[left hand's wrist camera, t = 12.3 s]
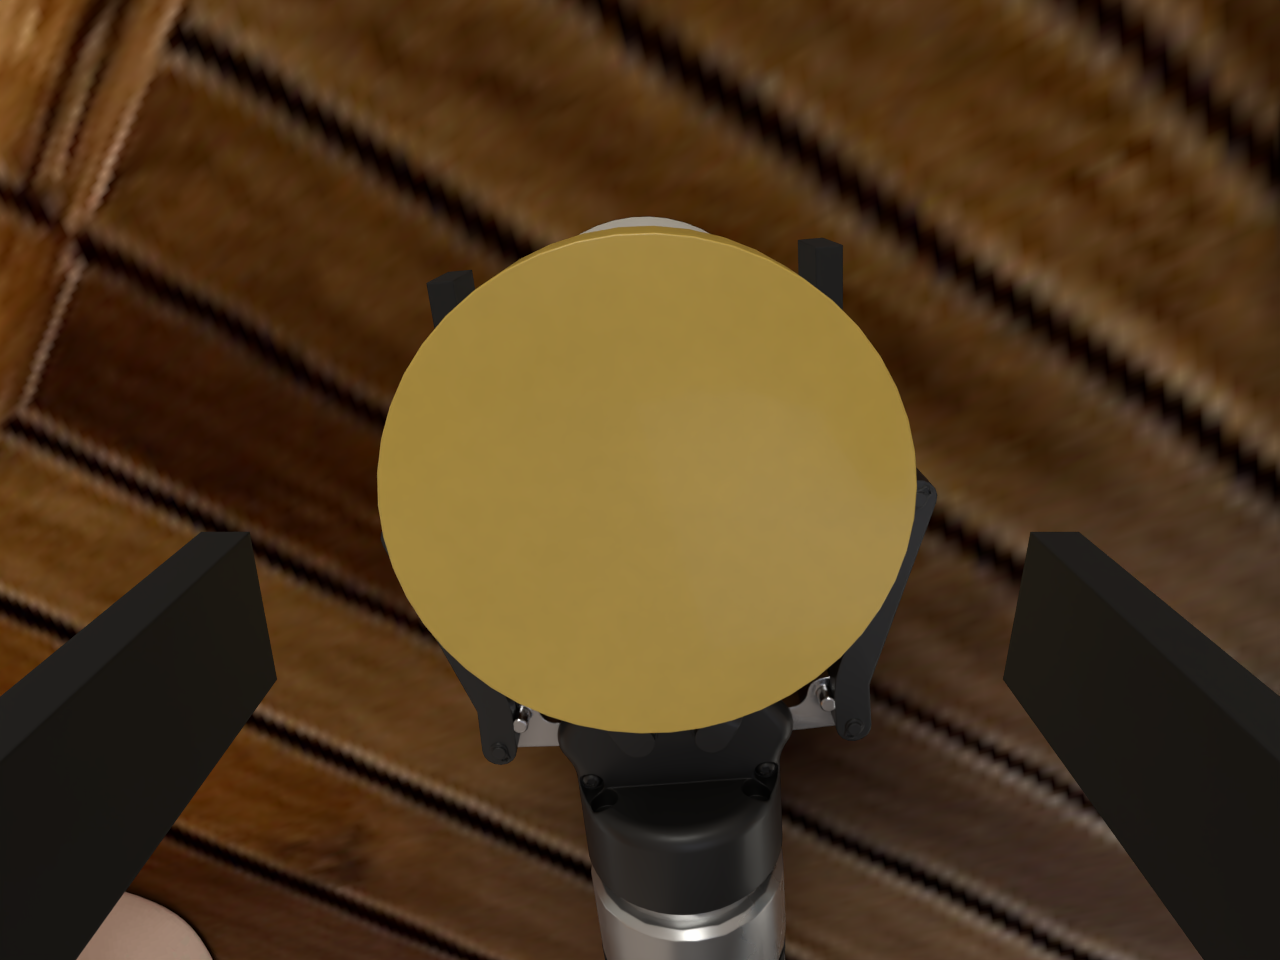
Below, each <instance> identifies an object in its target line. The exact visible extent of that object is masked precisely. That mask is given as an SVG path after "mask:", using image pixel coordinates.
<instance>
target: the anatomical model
mask: <svg viewBox="0 0 1280 960" xmlns="http://www.w3.org/2000/svg"><path fill="white" fill-rule="evenodd" d="M76 960H213V959H212V957H211V955H210V953H209V951H208V950H207V948H206V947H205V945H204V943H203V942H202V940H201V939H200V937H199V936H198V935H197V934H196V932H195V931H194V930H193V929H192V927H191V926H190V925H189V924H188V923H186V922H185V921H184V920H183V919H182V918H181V917H179V916H178V915H177V914H175V913H173V912H172V911H170V910H169V909H167V908H165V907H163V906H161V905H159V904H157V903H155V902H153V901H150V900H148V899H145V898H142V897H140V896H137V895H134V894H131V893H128V892H124V894H123V895H122V897H121V898H120V899H119V901H118V902H117V904H116V905H115V906H114V908H113V909H112V911H111V912H110V913H109V915H108V916H107V917H106V919H105V920H104V922H103V923H102V924H101V926H100V927H99V929H98V930H97V931H96V933H95V934H94V936H93V937H92V938H91V940H90V941H89V943H88V944H87V945H86V947H85V948H84V950H83V951H82V952H81V954H80V955H79V957H78V958H77V959H76Z"/></svg>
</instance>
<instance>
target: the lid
mask: <svg viewBox="0 0 1280 960" xmlns="http://www.w3.org/2000/svg"><path fill="white" fill-rule="evenodd" d="M377 481H378V507H379V513H380V519H381V526H382V532H383V537H384V541H385V544H386V547H387V550H388V553H389V557H390V560H391V563H392V566H393V569H394V571H395V573H396V575H397V578H398V580H399V582H400V584H401V586H402V588H403V590H404V593H405V595H406V597H407V598H408V600H409V602H410V603H411V605H412V606H413V608H414V609H415V611H416V613H417V614H418V616H419V617H420V619H421V620H422V622H423V624H424V625H425V626H426V627H427V628H428V630H429V631H430V632H431V633H432V634H433V636H434V637H435V638H436V639H437V641H438V642H439V643H440V644H441V645H442V647H443V648H444V649H445V650H446V651H447V652H449V653H450V654H451V655H452V656H453V657H454V658H455V659H456V660H457V661H458V662H459V663H460V664H461V665H462V666H463V667H464V668H466V669H467V670H468V671H469V672H471V673H472V674H473V675H475V676H476V677H477V678H479V679H480V680H482V681H483V682H484V683H486V684H487V685H488V686H490V687H491V688H493V689H494V690H496V691H498V692H500V693H501V694H503V695H505V696H506V697H508V698H510V699H512V700H513V701H515V702H517V703H519V704H521V705H523V706H526V707H528V708H530V709H533V710H535V711H537V712H540V713H542V714H544V715H546V716H549V717H553V718H556V719H559V720H562V721H566V722H569V723H572V724H576V725H580V726H585V727H590V728H595V729H601V730H606V731H615V732H628V733H670V732H678V731H685V730H692V729H700V728H705V727H709V726H713V725H717V724H721V723H725V722H728V721H732V720H735V719H738V718H741V717H743V716H746V715H749V714H751V713H754V712H757V711H759V710H762V709H764V708H766V707H768V706H770V705H772V704H774V703H776V702H778V701H780V700H782V699H784V698H786V697H788V696H790V695H791V694H793V693H794V692H796V691H797V690H799V689H800V688H802V687H803V686H805V685H806V684H808V683H809V682H811V681H812V680H814V679H815V678H817V677H818V676H819V675H820V674H822V673H823V672H824V671H825V670H826V669H827V668H829V667H830V666H831V665H832V664H833V663H835V662H836V661H837V660H838V659H839V658H840V657H841V656H842V655H843V654H844V653H845V652H846V651H847V650H848V649H849V648H850V647H851V646H852V644H853V643H854V642H855V641H856V640H857V639H858V638H859V637H860V636H861V635H862V634H863V632H864V631H865V629H866V628H867V627H868V625H869V624H870V622H871V621H872V620H873V618H874V617H875V615H876V614H877V613H878V611H879V610H880V608H881V607H882V605H883V603H884V601H885V599H886V597H887V595H888V594H889V592H890V590H891V588H892V586H893V584H894V582H895V580H896V578H897V575H898V573H899V570H900V567H901V565H902V562H903V559H904V557H905V554H906V551H907V548H908V543H909V539H910V535H911V530H912V526H913V522H914V515H915V503H916V492H917V477H916V459H915V450H914V445H913V440H912V435H911V430H910V425H909V420H908V417H907V414H906V411H905V409H904V406H903V403H902V400H901V397H900V395H899V392H898V389H897V387H896V385H895V383H894V381H893V379H892V377H891V375H890V373H889V372H888V370H887V368H886V366H885V364H884V362H883V360H882V358H881V357H880V355H879V354H878V352H877V351H876V350H875V348H874V347H873V346H872V344H871V343H870V341H869V340H868V339H867V337H866V336H865V335H864V333H863V332H862V331H861V329H860V328H859V327H858V326H857V325H856V324H855V323H854V322H853V321H852V320H851V319H850V318H849V316H848V315H847V314H846V313H845V312H844V311H843V310H842V309H841V308H840V307H839V306H838V305H837V304H836V303H835V302H834V301H833V300H831V299H830V298H829V297H827V296H826V295H825V294H823V293H822V292H821V291H820V290H818V289H817V288H816V287H814V286H813V285H812V284H810V283H809V282H808V281H806V280H805V279H804V278H802V277H801V276H799V275H798V274H796V273H795V272H793V271H792V270H790V269H789V268H787V267H786V266H784V265H782V264H780V263H779V262H777V261H775V260H773V259H771V258H770V257H768V256H766V255H764V254H762V253H761V252H759V251H757V250H755V249H752V248H750V247H747V246H745V245H742V244H740V243H737V242H734V241H732V240H729V239H727V238H724V237H721V236H716V235H712V234H708V233H704V232H699V231H695V230H691V229H683V228H673V227H662V226H635V227H617V228H611V229H606V230H600V231H595V232H589V233H584V234H581V235H578V236H574V237H571V238H568V239H565V240H562V241H559V242H556V243H553V244H550V245H548V246H546V247H544V248H542V249H540V250H538V251H536V252H534V253H532V254H530V255H528V256H526V257H524V258H522V259H520V260H518V261H517V262H515V263H514V264H512V265H511V266H509V267H508V268H506V269H505V270H503V271H502V272H500V273H499V274H497V275H496V276H494V277H493V278H491V279H490V280H488V281H487V282H486V283H484V284H483V285H481V286H480V287H478V288H477V289H475V290H474V291H473V292H472V293H471V294H469V295H468V296H467V297H466V298H465V299H464V300H463V301H462V302H461V303H459V304H458V305H457V306H456V307H455V308H454V309H453V310H452V311H451V312H449V313H448V314H447V315H446V316H445V317H444V319H443V320H442V321H441V322H440V323H439V325H438V326H437V327H436V328H435V329H434V331H433V332H432V333H431V334H430V335H429V337H428V338H427V339H426V340H425V341H424V343H423V344H422V345H421V347H420V349H419V350H418V352H417V353H416V355H415V357H414V358H413V360H412V362H411V363H410V365H409V366H408V368H407V370H406V371H405V373H404V375H403V377H402V379H401V382H400V384H399V386H398V389H397V391H396V393H395V396H394V398H393V400H392V403H391V405H390V408H389V412H388V416H387V419H386V423H385V427H384V430H383V434H382V438H381V445H380V453H379V462H378V470H377Z"/></svg>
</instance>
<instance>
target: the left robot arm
mask: <svg viewBox="0 0 1280 960" xmlns="http://www.w3.org/2000/svg"><path fill="white" fill-rule="evenodd" d="M276 680H277V677H276V672H275V666H274V661H273V656H272V650H271V645H270V640H269V634H268V629H267V623H266V618H265V613H264V607H263V602H262V597H261V591H260V586H259V581H258V575H257V570H256V564H255V559H254V554H253V548H252V543H251V538H250V532H201V533H199V534H198V535H197V536H196V537H194V538H193V539H192V540H191V541H190V542H188V543H187V544H186V545H185V546H184V547H182V548H181V549H180V550H179V551H177V552H176V553H175V554H174V555H173V556H171V557H170V558H169V559H168V560H166V561H165V562H164V563H163V564H162V565H160V566H159V567H158V568H157V569H155V570H154V571H153V572H152V573H151V574H149V575H148V576H147V577H146V578H144V579H143V580H142V581H141V582H140V583H138V584H137V585H136V586H135V587H134V588H132V589H131V590H130V591H129V592H127V593H126V594H125V595H124V596H123V597H121V598H120V599H119V600H118V601H116V602H115V603H114V604H113V605H112V606H110V607H109V608H108V609H107V610H105V611H104V612H103V613H102V614H101V615H99V616H98V617H97V618H96V619H94V620H93V621H92V622H91V623H90V624H88V625H87V626H86V627H85V628H84V629H82V630H81V631H80V632H79V633H77V634H76V635H75V636H74V637H73V638H71V639H70V640H69V641H68V642H66V643H65V644H64V645H63V646H62V647H60V648H59V649H58V650H57V651H55V652H54V653H53V654H52V655H51V656H49V657H48V658H47V659H46V660H44V661H43V662H42V663H41V664H40V665H38V666H37V667H36V668H35V669H34V670H32V671H31V672H30V673H29V674H27V675H26V676H25V677H24V678H23V679H21V680H20V681H19V682H18V683H16V684H15V685H14V686H13V687H12V688H10V689H9V690H8V691H7V692H5V693H4V694H3V695H2V696H1V697H0V960H76V959H77V958H78V957H79V955H80V954H81V952H82V951H83V950H84V948H85V947H86V945H87V944H88V943H89V941H90V940H91V938H92V937H93V936H94V934H95V933H96V931H97V930H98V929H99V927H100V926H101V924H102V923H103V922H104V920H105V919H106V917H107V916H108V915H109V913H110V912H111V911H112V909H113V908H114V906H115V905H116V904H117V902H118V901H119V899H120V898H121V897H122V895H123V894H124V892H125V891H126V890H127V888H128V887H129V885H130V884H131V883H132V881H133V880H134V878H135V877H136V876H137V874H138V873H139V871H140V870H141V869H142V867H143V866H144V864H145V863H146V862H147V860H148V859H149V857H150V856H151V855H152V853H153V852H154V850H155V849H156V848H157V846H158V845H159V843H160V842H161V841H162V839H163V838H164V836H165V835H166V834H167V832H168V831H169V829H170V828H171V827H172V825H173V824H174V822H175V821H176V820H177V818H178V817H179V815H180V814H181V813H182V811H183V810H184V809H185V807H186V806H187V804H188V803H189V802H190V800H191V799H192V797H193V796H194V795H195V793H196V792H197V790H198V789H199V788H200V786H201V785H202V783H203V782H204V781H205V779H206V778H207V776H208V775H209V774H210V772H211V771H212V769H213V768H214V767H215V765H216V764H217V762H218V761H219V760H220V758H221V757H222V755H223V754H224V753H225V751H226V750H227V748H228V747H229V746H230V744H231V743H232V741H233V740H234V739H235V737H236V736H237V734H238V733H239V732H240V730H241V729H242V727H243V726H244V725H245V723H246V722H247V720H248V719H249V718H250V716H251V715H252V714H253V712H254V711H255V709H256V708H257V707H258V705H259V704H260V702H261V701H262V700H263V698H264V697H265V695H266V694H267V693H268V691H269V690H270V688H271V687H272V686H273V684H274V683H275V681H276ZM1003 680H1004V681H1005V683H1006V684H1007V686H1008V687H1009V688H1010V690H1011V691H1012V693H1013V694H1014V695H1015V697H1016V698H1017V700H1018V701H1019V702H1020V704H1021V705H1022V707H1023V708H1024V709H1025V711H1026V712H1027V714H1028V715H1029V716H1030V718H1031V719H1032V720H1033V722H1034V723H1035V725H1036V726H1037V727H1038V729H1039V730H1040V732H1041V733H1042V734H1043V736H1044V737H1045V739H1046V740H1047V741H1048V743H1049V744H1050V746H1051V747H1052V748H1053V750H1054V751H1055V753H1056V754H1057V755H1058V757H1059V758H1060V760H1061V761H1062V762H1063V764H1064V765H1065V767H1066V768H1067V769H1068V771H1069V772H1070V774H1071V775H1072V776H1073V778H1074V779H1075V781H1076V782H1077V783H1078V785H1079V786H1080V788H1081V789H1082V790H1083V792H1084V793H1085V795H1086V796H1087V797H1088V799H1089V800H1090V802H1091V803H1092V804H1093V806H1094V807H1095V809H1096V810H1097V811H1098V813H1099V814H1100V816H1101V817H1102V818H1103V820H1104V821H1105V822H1106V824H1107V825H1108V827H1109V828H1110V829H1111V831H1112V832H1113V834H1114V835H1115V836H1116V838H1117V839H1118V841H1119V842H1120V843H1121V845H1122V846H1123V848H1124V849H1125V850H1126V852H1127V853H1128V855H1129V856H1130V857H1131V859H1132V860H1133V862H1134V863H1135V864H1136V866H1137V867H1138V869H1139V870H1140V871H1141V873H1142V874H1143V876H1144V877H1145V878H1146V880H1147V881H1148V883H1149V884H1150V885H1151V887H1152V888H1153V890H1154V891H1155V892H1156V894H1157V895H1158V897H1159V898H1160V899H1161V901H1162V902H1163V904H1164V905H1165V906H1166V908H1167V909H1168V911H1169V912H1170V913H1171V915H1172V916H1173V917H1174V919H1175V920H1176V922H1177V923H1178V924H1179V926H1180V927H1181V929H1182V930H1183V931H1184V933H1185V934H1186V936H1187V937H1188V938H1189V940H1190V941H1191V943H1192V944H1193V945H1194V947H1195V948H1196V950H1197V951H1198V952H1199V954H1200V955H1201V957H1202V958H1203V959H1204V960H1280V697H1279V696H1278V695H1277V694H1276V693H1275V692H1273V691H1272V690H1271V689H1270V688H1268V687H1267V686H1266V685H1265V684H1264V683H1262V682H1261V681H1260V680H1259V679H1257V678H1256V677H1255V676H1254V675H1253V674H1251V673H1250V672H1249V671H1248V670H1246V669H1245V668H1244V667H1243V666H1242V665H1240V664H1239V663H1238V662H1237V661H1236V660H1234V659H1233V658H1232V657H1231V656H1229V655H1228V654H1227V653H1226V652H1225V651H1223V650H1222V649H1221V648H1220V647H1218V646H1217V645H1216V644H1215V643H1214V642H1212V641H1211V640H1210V639H1209V638H1207V637H1206V636H1205V635H1204V634H1203V633H1201V632H1200V631H1199V630H1198V629H1196V628H1195V627H1194V626H1193V625H1192V624H1190V623H1189V622H1188V621H1187V620H1186V619H1184V618H1183V617H1182V616H1181V615H1179V614H1178V613H1177V612H1176V611H1175V610H1173V609H1172V608H1171V607H1170V606H1168V605H1167V604H1166V603H1165V602H1164V601H1162V600H1161V599H1160V598H1159V597H1157V596H1156V595H1155V594H1154V593H1153V592H1151V591H1150V590H1149V589H1148V588H1146V587H1145V586H1144V585H1143V584H1142V583H1140V582H1139V581H1138V580H1137V579H1136V578H1134V577H1133V576H1132V575H1131V574H1129V573H1128V572H1127V571H1126V570H1125V569H1123V568H1122V567H1121V566H1120V565H1118V564H1117V563H1116V562H1115V561H1114V560H1112V559H1111V558H1110V557H1109V556H1107V555H1106V554H1105V553H1104V552H1103V551H1101V550H1100V549H1099V548H1098V547H1096V546H1095V545H1094V544H1093V543H1092V542H1090V541H1089V540H1088V539H1087V538H1086V537H1084V536H1083V535H1082V534H1081V533H1079V532H1030V538H1029V543H1028V548H1027V554H1026V559H1025V564H1024V570H1023V575H1022V581H1021V586H1020V591H1019V597H1018V602H1017V607H1016V613H1015V618H1014V623H1013V629H1012V634H1011V640H1010V645H1009V650H1008V656H1007V661H1006V666H1005V672H1004V677H1003Z"/></svg>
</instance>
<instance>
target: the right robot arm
mask: <svg viewBox="0 0 1280 960" xmlns="http://www.w3.org/2000/svg"><path fill="white" fill-rule="evenodd" d="M798 264H799V276H801V277H802V278H804V279H805V280H806V281H808V282H809V283H810V284H812V285H813V286H814V287H816V288H817V289H818V290H820V291H821V292H822V293H823V294H825V295H826V296H827V297H829V298H830V299H831V300H833V301H834V302H835V303H836V304H837V305H838V306H839V307H840V308H841V309H842V310H843V245H841V244H838V243H835V242H833V241H830V240H827V239H824V238H815V239H804V240H798ZM427 289H428V294H429V300H430V305H431V311H432V317H433V322H434V328H436V327H437V326H438V325H439V323H440V322H441V321H442V320H443V319H444V317H445V316H446V315H447V314H448V313H449V312H451V311H452V310H453V309H454V308H455V307H456V306H457V305H458V304H459V303H461V302H462V301H463V300H464V299H465V298H466V297H467V296H468V295H469V294H471V293H472V292H473V291H474V290H475V287H474V280H473V274H472V270H466V271H455V272H447V273H445V274H443V275H441V276H440V277H438V278H436V279H434V280H432V281H430V282H428V283H427ZM916 477H917V492H916V503H915V515H914V522H913V526H912V530H911V535H910V539H909V543H908V548H907V551H906V554H905V557H904V559H903V562H902V565H901V567H900V570H899V573H898V575H897V578H896V580H895V582H894V584H893V586H892V588H891V590H890V592H889V594H888V595H887V597H886V599H885V601H884V603H883V605H882V607H881V608H880V610H879V611H878V613H877V614H876V615H875V617H874V618H873V620H872V621H871V622H870V624H869V625H868V627H867V628H866V629H865V631H864V632H863V634H862V635H861V636H860V637H859V638H858V639H857V640H856V641H855V642H854V643H853V644H852V646H851V647H850V648H849V649H848V650H847V651H846V652H845V653H844V654H843V655H842V656H841V657H840V658H839V659H838V660H837V661H836V662H835V663H833V664H832V665H831V666H830V667H829V668H827V669H826V670H825V671H824V672H823V673H822V674H820V675H819V676H818V677H817V678H815V679H814V680H812V681H811V682H809V683H808V684H806V685H805V686H803V687H802V688H800V689H799V690H797V691H796V692H794V693H793V694H791V695H790V696H788V697H786V698H784V699H782V700H780V701H778V702H776V703H774V704H772V705H770V706H768V707H766V708H764V709H762V710H759V711H757V712H754V713H751V714H749V715H746V716H743V717H741V718H738V719H735V720H732V721H728V722H725V723H721V724H717V725H713V726H709V727H705V728H700V729H692V730H685V731H678V732H670V733H628V732H615V731H606V730H601V729H595V728H590V727H585V726H580V725H576V724H572V723H569V722H566V721H562V720H559V719H556V718H553V717H549V716H546V715H544V714H542V713H540V712H537V711H535V710H533V709H530V708H528V707H526V706H523V705H521V704H519V703H517V702H515V701H513V700H512V699H510V698H508V697H506V696H505V695H503V694H501V693H500V692H498V691H496V690H494V689H493V688H491V687H490V686H488V685H487V684H486V683H484V682H483V681H482V680H480V679H479V678H477V677H476V676H475V675H473V674H472V673H471V672H469V671H468V670H467V669H466V668H464V667H463V666H462V665H461V664H460V663H459V662H458V661H457V660H456V659H455V658H454V657H453V656H452V655H451V654H450V653H449V652H447V651H446V650H445V649H444V648H443V647H442V645H441V644H440V643H439V642H438V641H437V642H438V643H439V645H440V647H441V649H442V650H443V652H444V654H445V656H446V657H447V659H448V661H449V663H450V664H451V666H452V668H453V670H454V671H455V673H456V675H457V677H458V678H459V680H460V682H461V684H462V685H463V687H464V689H465V691H466V693H467V694H468V696H469V698H470V700H471V701H472V703H473V705H474V707H475V708H476V710H477V712H478V719H479V727H480V735H481V743H482V751H483V754H484V756H485V758H486V759H487V760H488V761H490V762H492V763H494V764H500V765H502V764H507V763H509V762H511V761H512V760H513V759H514V758H515V756H516V752H517V748H518V747H534V746H560V748H561V750H562V752H563V753H564V754H565V755H566V756H567V758H568V759H569V760H570V761H571V762H572V764H573V765H574V767H575V769H576V772H577V775H578V781H579V788H580V795H581V802H582V809H583V816H584V822H585V829H586V836H587V843H588V850H589V856H590V859H591V862H592V869H591V873H592V879H593V886H594V892H595V898H596V905H597V911H598V917H599V924H600V930H601V936H602V946H603V951H604V955H605V960H785V929H786V918H785V893H784V869H783V853H782V848H781V846H782V812H781V783H780V755H781V752H782V749H783V747H784V745H785V744H786V742H787V741H788V739H789V737H790V735H791V733H792V730H798V729H807V728H816V727H824V726H833V725H835V726H836V729H837V732H838V734H839V735H840V736H841V737H842V738H844V739H846V740H850V741H856V740H859V739H862V738H863V737H865V736H866V735H867V734H868V733H869V731H870V729H871V710H870V691H869V684H870V681H871V678H872V675H873V673H874V670H875V667H876V665H877V662H878V659H879V656H880V654H881V651H882V648H883V645H884V643H885V640H886V637H887V635H888V632H889V629H890V626H891V624H892V621H893V618H894V615H895V613H896V610H897V607H898V605H899V602H900V599H901V596H902V594H903V591H904V588H905V585H906V583H907V580H908V577H909V575H910V572H911V569H912V566H913V564H914V561H915V558H916V556H917V553H918V550H919V547H920V545H921V542H922V539H923V536H924V534H925V531H926V528H927V526H928V523H929V520H930V517H931V515H932V512H933V509H934V506H935V504H936V499H937V493H936V489H935V488H934V487H933V486H932V484H931V483H930V482H929V481H928V480H927V479H926V477H925V476H924V475H923V474H922V473H921V472H920V471H919V470H918V469H917V468H916ZM381 541H382V544H383V547H384V548H385V550H386V552H387V554H388V555H389V553H388V550H387V547H386V544H385V541H384V537H383V532H382V533H381ZM436 640H437V639H436Z"/></svg>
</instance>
